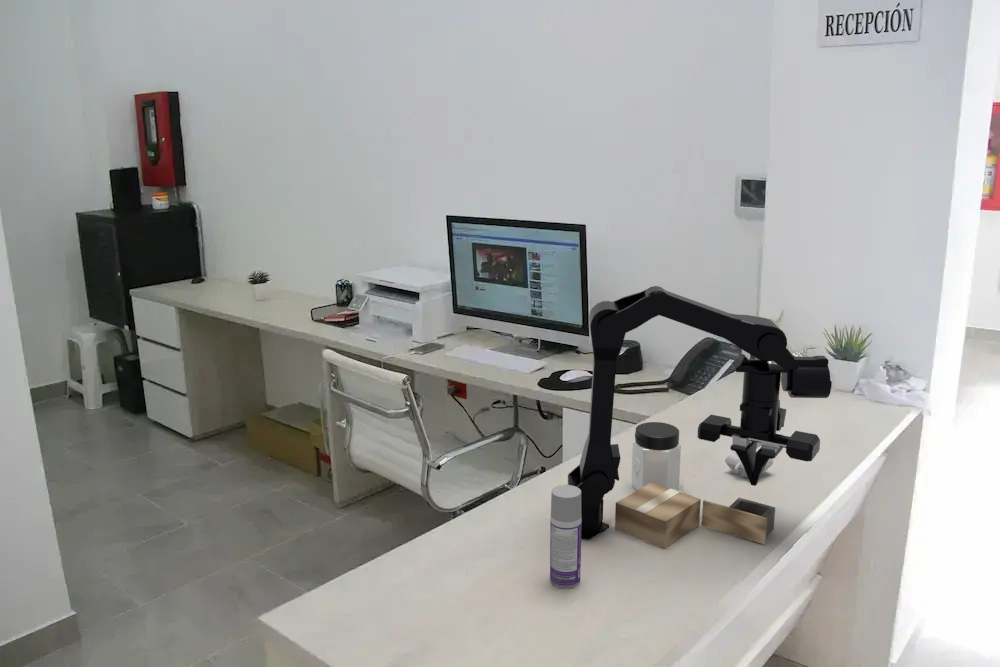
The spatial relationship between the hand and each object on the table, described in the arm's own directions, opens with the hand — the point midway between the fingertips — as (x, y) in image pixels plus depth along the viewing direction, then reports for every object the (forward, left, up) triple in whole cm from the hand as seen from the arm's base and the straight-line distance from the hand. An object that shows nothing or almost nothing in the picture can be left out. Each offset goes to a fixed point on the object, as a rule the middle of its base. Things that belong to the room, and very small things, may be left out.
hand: (754, 484), depth 140 cm
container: (-33, +14, -9) cm, 37 cm away
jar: (+4, +22, -9) cm, 24 cm away
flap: (-1, +2, -9) cm, 9 cm away
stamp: (+22, +12, -9) cm, 27 cm away
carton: (-9, +13, -9) cm, 18 cm away
